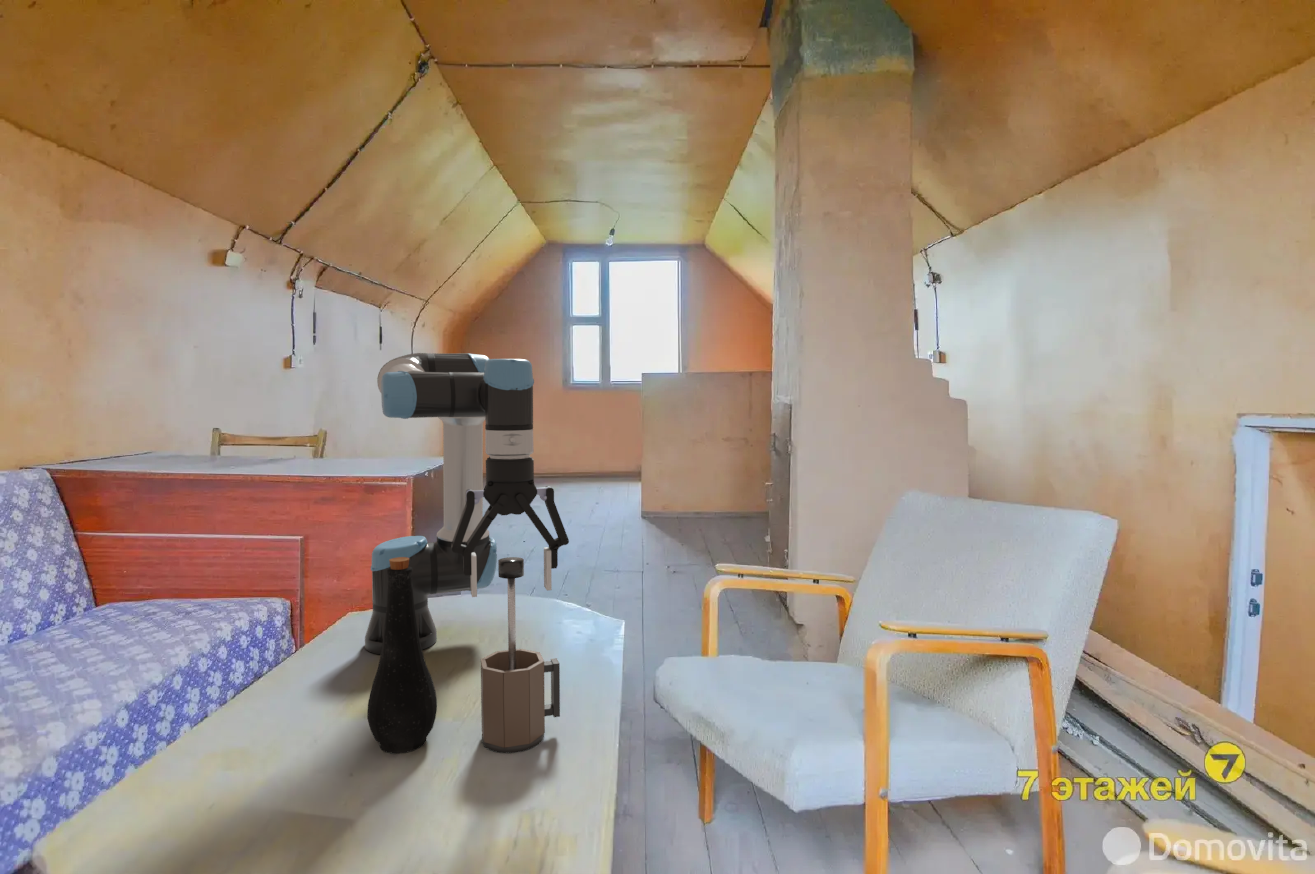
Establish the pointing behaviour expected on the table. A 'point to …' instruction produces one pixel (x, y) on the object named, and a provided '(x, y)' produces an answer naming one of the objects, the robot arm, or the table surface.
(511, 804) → the table surface
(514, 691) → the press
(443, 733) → the table surface
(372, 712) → the bottle
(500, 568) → the plunger
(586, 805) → the table surface
